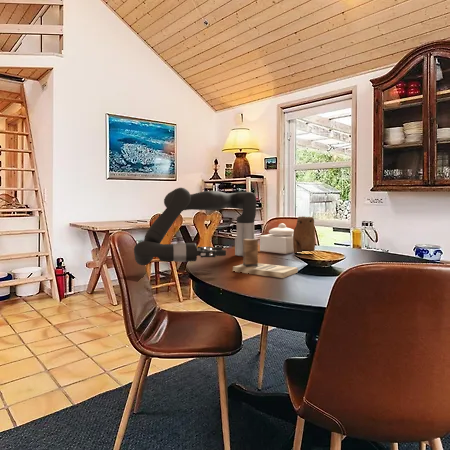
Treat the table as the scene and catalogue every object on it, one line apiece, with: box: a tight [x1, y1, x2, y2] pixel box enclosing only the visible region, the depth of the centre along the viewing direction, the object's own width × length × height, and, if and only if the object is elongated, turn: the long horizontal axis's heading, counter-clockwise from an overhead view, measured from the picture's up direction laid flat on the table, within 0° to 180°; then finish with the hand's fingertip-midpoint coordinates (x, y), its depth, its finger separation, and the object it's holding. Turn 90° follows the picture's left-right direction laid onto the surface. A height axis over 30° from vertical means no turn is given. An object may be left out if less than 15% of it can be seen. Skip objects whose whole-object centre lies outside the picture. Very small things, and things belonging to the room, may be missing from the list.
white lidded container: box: [258, 222, 294, 255], centre depth 219 cm, size 18×18×16 cm
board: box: [232, 262, 299, 279], centre depth 158 cm, size 23×13×2 cm, turn 55°
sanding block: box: [242, 238, 259, 267], centre depth 161 cm, size 5×5×11 cm
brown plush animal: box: [293, 216, 316, 254], centre depth 204 cm, size 11×8×20 cm
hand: (223, 251), depth 159 cm, fingers open, 8 cm apart
